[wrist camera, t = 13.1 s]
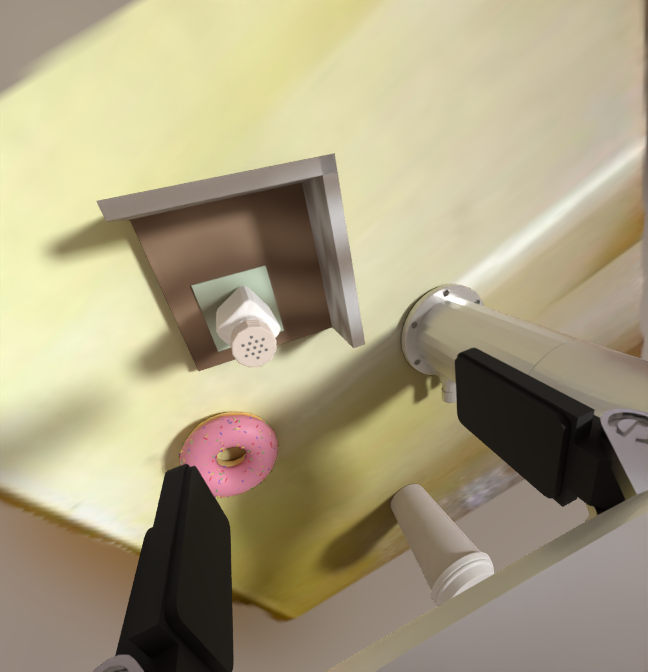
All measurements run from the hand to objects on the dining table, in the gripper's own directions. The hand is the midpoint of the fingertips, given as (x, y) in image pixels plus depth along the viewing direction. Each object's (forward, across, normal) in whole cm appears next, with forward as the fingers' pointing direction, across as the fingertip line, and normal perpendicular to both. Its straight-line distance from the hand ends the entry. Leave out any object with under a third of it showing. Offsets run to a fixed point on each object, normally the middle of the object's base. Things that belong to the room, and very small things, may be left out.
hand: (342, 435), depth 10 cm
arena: (+23, +1, -2) cm, 23 cm away
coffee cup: (+24, -12, +42) cm, 50 cm away
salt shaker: (+22, +2, +1) cm, 22 cm away
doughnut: (+24, +10, +17) cm, 31 cm away
